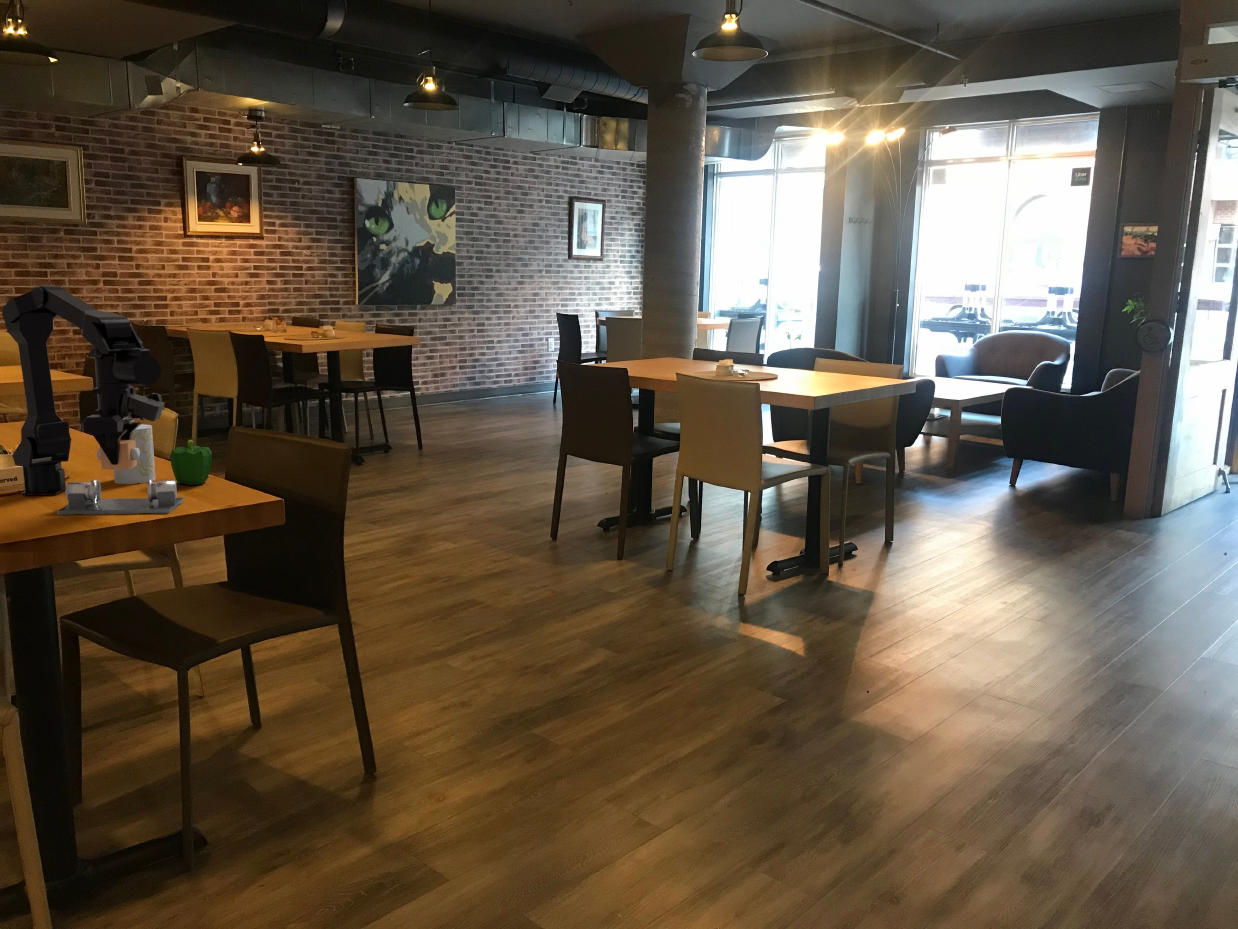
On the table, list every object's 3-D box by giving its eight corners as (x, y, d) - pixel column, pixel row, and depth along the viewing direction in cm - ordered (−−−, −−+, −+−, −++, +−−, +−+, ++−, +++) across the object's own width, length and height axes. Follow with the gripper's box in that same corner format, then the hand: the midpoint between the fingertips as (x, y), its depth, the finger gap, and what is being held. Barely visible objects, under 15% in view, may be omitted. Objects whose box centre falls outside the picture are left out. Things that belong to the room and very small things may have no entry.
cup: (139, 485, 211) (135, 430, 208) (106, 482, 212) (102, 428, 210) (163, 477, 219) (159, 425, 216) (131, 475, 220) (127, 423, 218)
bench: (57, 514, 184) (55, 485, 183) (77, 502, 193) (75, 474, 192) (169, 513, 187) (167, 484, 186) (183, 501, 197) (182, 474, 196)
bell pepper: (179, 479, 217) (176, 435, 215) (217, 479, 218) (214, 435, 216) (165, 487, 209) (162, 441, 207) (205, 487, 210) (202, 442, 208)
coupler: (142, 464, 191) (140, 440, 191) (135, 469, 187) (133, 443, 186) (104, 465, 190) (102, 440, 189) (96, 469, 186) (94, 443, 185)
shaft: (148, 506, 189) (146, 481, 188) (150, 501, 193) (148, 477, 192) (176, 504, 191) (174, 480, 190) (177, 499, 195) (176, 475, 194)
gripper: (142, 388, 178) (148, 471, 181) (172, 377, 196) (176, 453, 199) (77, 387, 176) (83, 471, 179) (113, 376, 194) (118, 453, 197)
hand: (119, 462), depth 189 cm, fingers closed on coupler, 4 cm apart
